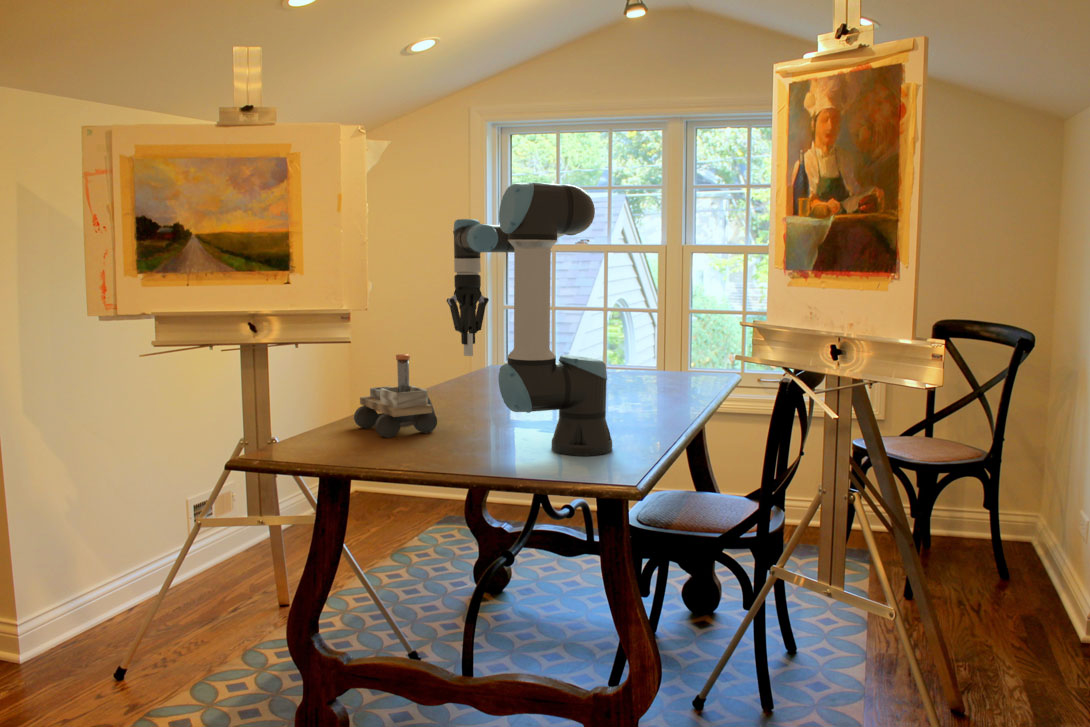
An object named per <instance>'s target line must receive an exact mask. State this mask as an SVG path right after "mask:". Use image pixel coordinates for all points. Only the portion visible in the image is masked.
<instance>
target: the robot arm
mask: <svg viewBox="0 0 1090 727" xmlns="http://www.w3.org/2000/svg"><path fill="white" fill-rule="evenodd" d="M592 199H593V198H591V196H590V195H589V194H588V193H587V192H586V191H585V190H584V189H582V188H581V187H578V186H576V185H572V184H566V183H565V184H564V183H562V184H561V183H544V182H532V181H531V182H530V181H528V182H527V181H526V182H514V183H512V184H510V185H509V186H508V187H507V188H506V189H505V191H504V193H503V195H502V198H501V200H500V205H499V212H498V222H499V224H487V223H481V221H479V220H478V219H477V218H476V219H474V218H463V219H462V218H461V219H460V218H459V219H455V221H454V222H453V231H452V232H453V234H452V235H453V256H454V259H453V262H454V264H453V265H454V269H453V270H454V271H453V272H454V273H456V274H454V283H453V284H454V289H455V290H454V292H453V295H452V296H451V297H450V298H447V299H446V303H447V305H448V306H449V309H450V313H451V314H450V315H451V319H452V324H453V328H454V331H456V332H459V333H460V335H461V336H460V337H461V338H460V342H461V345H463V356H464V357H465V356H466V357H474V345H475V344H476V334H477V333H478V332H479V331H481V330H482V327H483V320H484V317H485V311H486V307H487V305H488V303H489V298H488V297H485V296H484V295H482V291H481V286H482V285H481V283H482V282H481V280H482V277H481V274H479V273H481V269H482V267H481V253H514V256H513V258H514V262H513V263H514V264H513V266H514V268H513V269H514V270H513V271H514V274H513V278H514V279H513V283H514V284H513V285H514V286H513V290H514V291H513V293H514V294H513V295H514V296H513V297H514V298H513V299H514V300H513V314H514V315H513V349H512V351H511V352H510V353H509V354H508V355H507V363H504V364H503V365H501V366H500V367H499V372H498V378H497V379H498V388H499V392H500V396H501V398H502V400H503V403H504V404H505V406H506V407H507V408H508V410H510V411H511V412H514V413H527V414H528V413H533V412H534V413H535V412H544V411H545V412H546V411H558V420H557V423H556V426H555V430H554V432H553V436H552V438H551V450H552V451H553V452H556V453H558V454H563V455H569V456H579V457H580V456H583V457H585V456H586V457H589V456H599V455H604V454H608V453H611V452H612V450H613V440H612V437H611V433H610V429H609V426H608V423H607V418H606V417H607V416H606V415H607V382H608V381H607V380H608V376H607V365H606V363H605V362H604V361H603V360H601V359H596V358H592V357H584V356H577V355H566V354H565V355H564V354H563V355H560V356H559V358H558V361H557V358H556V357H557V356H556V355H555V353H553V351H552V350H551V349H550V344H551V342H550V341H551V340H550V339H551V338H550V337H551V336H550V333H551V261H552V260H551V259H552V258H551V254H552V253H551V252H552V251H551V249H552V248H553V247H554V246H555V244H557V242H558V238H561V237H563V236H576V235H577V234H581V233H582V232H584V231H586V230H587V229H589V227H590V226H591V225H592V223H593V222H594V219H595V212H596V211H595V210H596V209H595V204H594V202H593V200H592ZM457 303H458V304H459V305H458V304H457Z"/></svg>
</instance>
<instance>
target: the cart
mask: <svg viewBox="0 0 1090 727" xmlns="http://www.w3.org/2000/svg"><path fill="white" fill-rule="evenodd" d="M369 389H370V390H369V394H370V395H369V396H360V397H359V405H361V406H360V407H357V408H356V410H355V412H354V414H353V420H354V422H355V424H356V425H357V426H358V427H360V428H363V429H371V428H373V427H375V431H376V433H377V434H378V435H379V436H381V437H383V438H386V439H391V438H393V437H395V436H396V435H397V434H398V433H399V431H400V429H401V427H407V426H409V427H410V426H413V427H414V429H415V430H416V431H418V432H421V433H423V434H428V433H429V434H430V433H432V432H433V431H434V430H435V429H436V427H437V425H438V418H437V415H436V413H435V414H434V413H433V412H432V406H433V404H432V405H429V404H428V397H429V394H428V391H429V390H427V389H425V388H421V387H417V386H414V385H409V392H401V393H398V386H389V385H387V386H379V387H370V388H369ZM378 412H380V413H378ZM414 415H415V416H414ZM413 416H414V419H413ZM412 419H413V421H411V420H412Z"/></svg>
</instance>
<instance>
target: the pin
mask: <svg viewBox="0 0 1090 727" xmlns="http://www.w3.org/2000/svg"><path fill="white" fill-rule="evenodd" d="M410 358H411V355H410V354H408V353H402V354H395V361H396V364H397V366H396V367H397V369H396V370H397V387H398V393H401V392H409V386H410V362H409V361H410Z"/></svg>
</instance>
